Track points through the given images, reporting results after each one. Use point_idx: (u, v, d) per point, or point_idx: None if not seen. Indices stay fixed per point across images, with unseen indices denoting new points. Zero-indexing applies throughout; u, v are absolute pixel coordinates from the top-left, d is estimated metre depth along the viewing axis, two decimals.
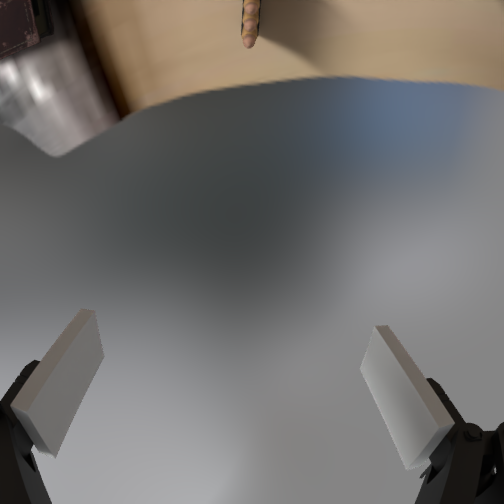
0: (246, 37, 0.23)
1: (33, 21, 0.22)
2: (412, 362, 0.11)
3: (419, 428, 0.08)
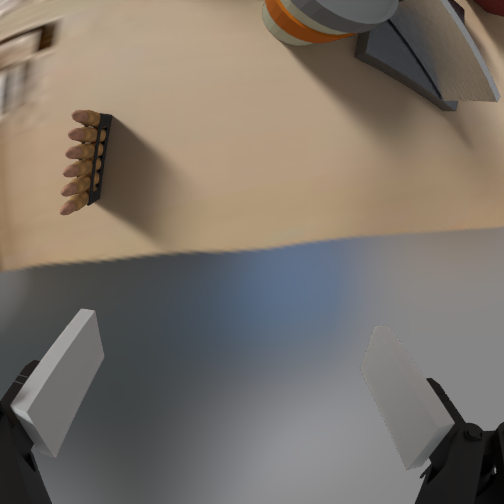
0: (65, 203, 0.25)
1: None
2: (412, 362, 0.11)
3: (419, 428, 0.08)
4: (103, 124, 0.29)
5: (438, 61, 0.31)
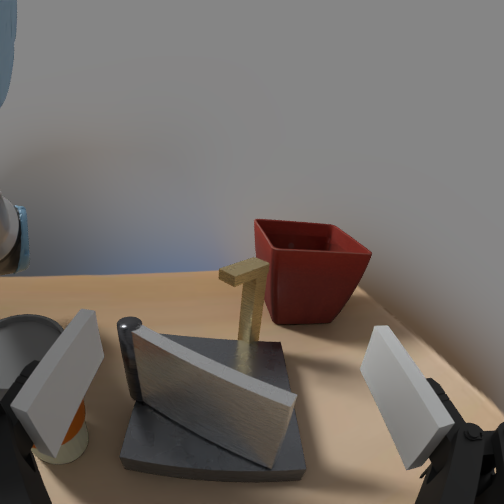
0: None
1: None
2: (412, 362, 0.11)
3: (419, 428, 0.08)
4: None
5: (212, 422, 0.27)
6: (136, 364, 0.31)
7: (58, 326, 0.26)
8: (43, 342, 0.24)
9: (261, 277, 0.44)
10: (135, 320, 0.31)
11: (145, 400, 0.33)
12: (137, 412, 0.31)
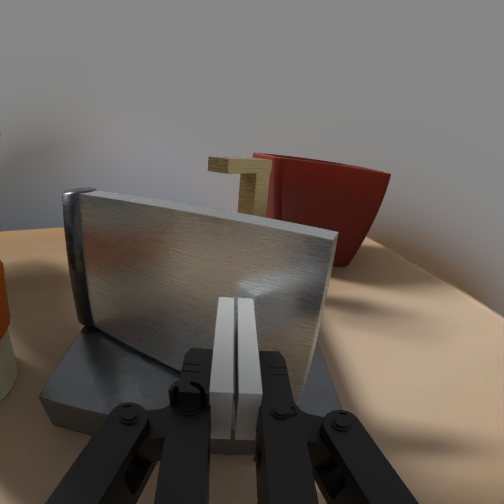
0: None
1: None
2: None
3: (237, 394, 0.10)
4: None
5: (191, 331, 0.18)
6: (83, 253, 0.21)
7: None
8: None
9: (262, 176, 0.34)
10: (88, 189, 0.21)
11: (95, 324, 0.23)
12: (82, 340, 0.21)
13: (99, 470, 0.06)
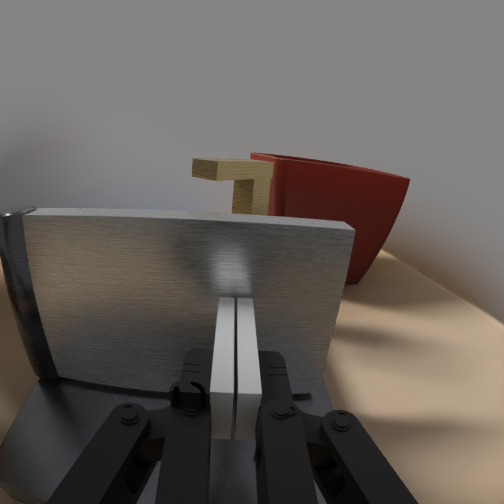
0: None
1: None
2: (255, 332, 0.13)
3: (236, 394, 0.10)
4: None
5: (205, 348, 0.16)
6: (35, 292, 0.14)
7: None
8: None
9: (261, 183, 0.27)
10: (24, 207, 0.14)
11: (62, 373, 0.16)
12: (36, 398, 0.14)
13: (100, 470, 0.06)
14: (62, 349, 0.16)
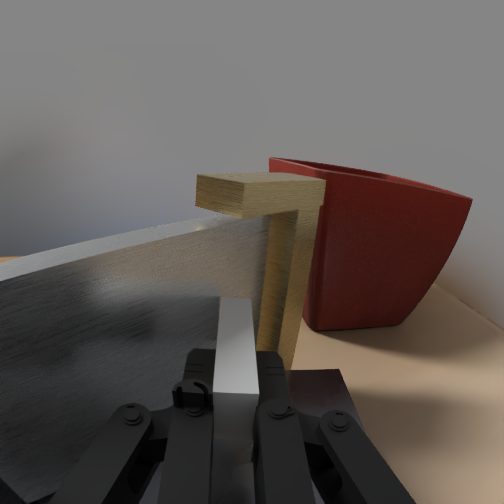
0: None
1: None
2: (253, 332, 0.13)
3: None
4: None
5: (168, 381, 0.14)
6: None
7: None
8: None
9: (308, 213, 0.17)
10: None
11: (29, 498, 0.07)
12: None
13: (102, 471, 0.06)
14: (20, 473, 0.07)
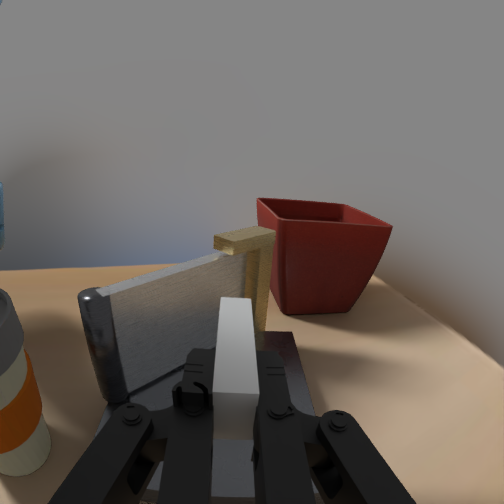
0: None
1: None
2: (253, 332, 0.13)
3: None
4: None
5: (201, 326, 0.33)
6: (117, 340, 0.24)
7: (6, 296, 0.18)
8: None
9: (266, 248, 0.36)
10: (89, 290, 0.23)
11: (130, 389, 0.26)
12: (109, 416, 0.23)
13: (102, 471, 0.06)
14: (133, 369, 0.26)
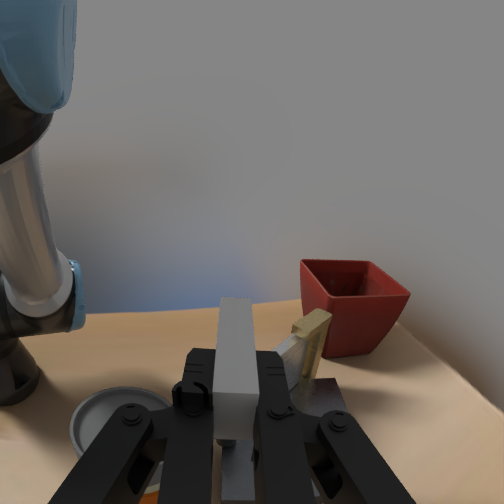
0: None
1: None
2: (253, 332, 0.13)
3: None
4: None
5: None
6: None
7: (162, 399, 0.30)
8: None
9: (325, 327, 0.47)
10: None
11: None
12: (227, 457, 0.34)
13: (102, 471, 0.06)
14: None
